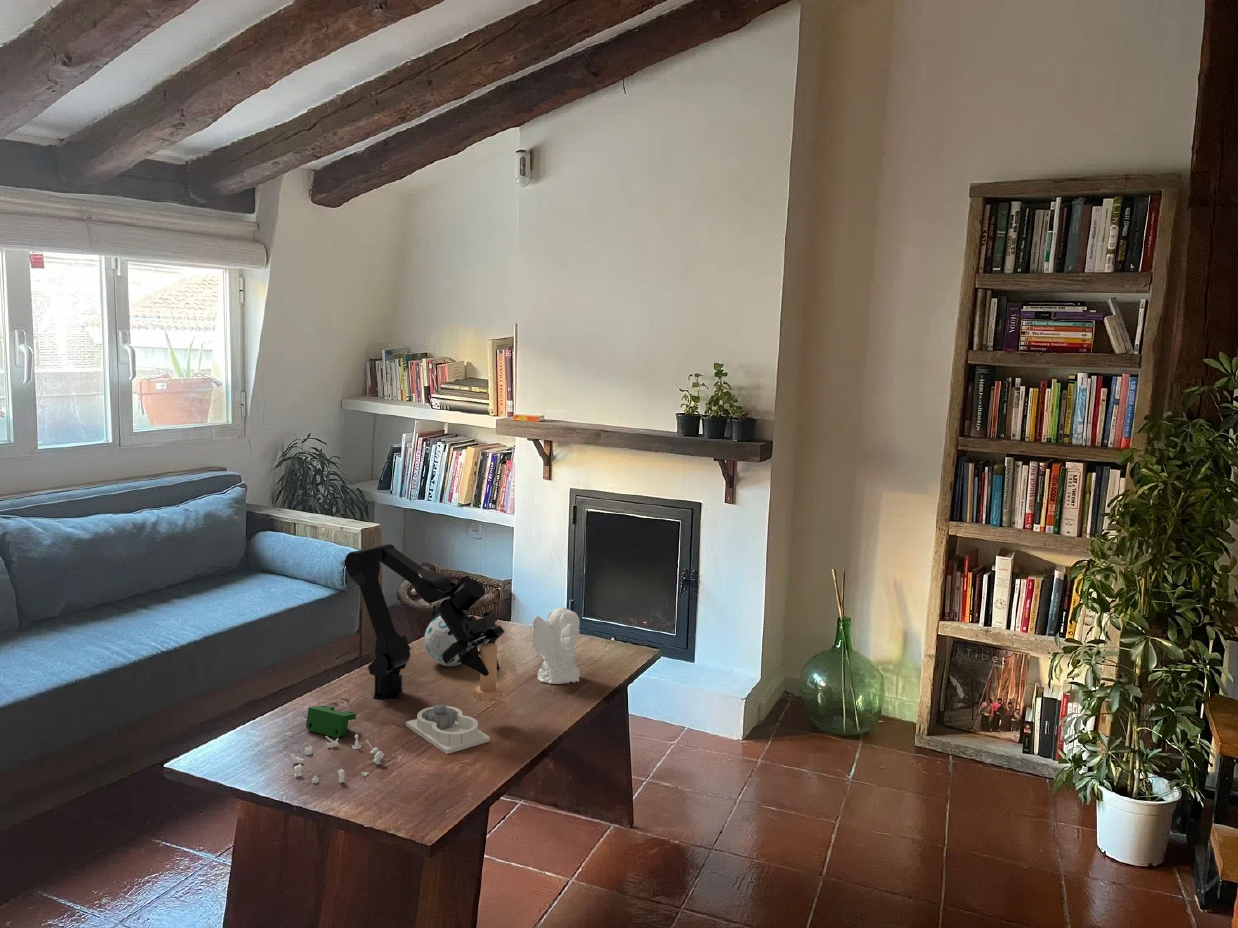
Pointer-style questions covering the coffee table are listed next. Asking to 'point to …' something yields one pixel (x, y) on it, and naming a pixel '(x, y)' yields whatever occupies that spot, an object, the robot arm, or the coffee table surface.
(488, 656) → the knob on notched ring
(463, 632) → the robot arm
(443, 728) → the housing
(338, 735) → the clamp
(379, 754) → the game piece set
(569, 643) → the cherub figurine
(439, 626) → the puzzle ball
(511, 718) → the coffee table surface
